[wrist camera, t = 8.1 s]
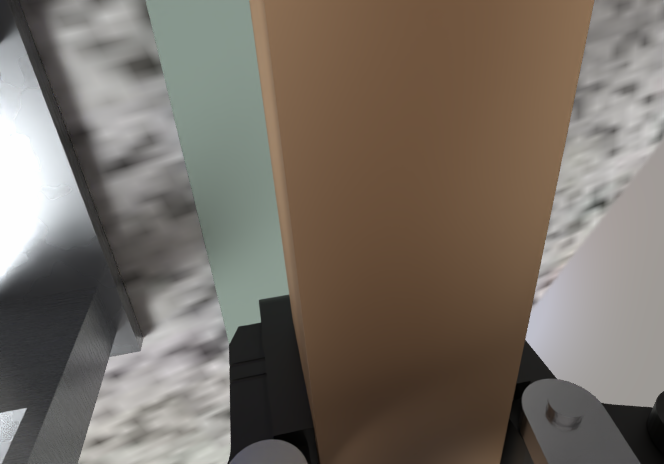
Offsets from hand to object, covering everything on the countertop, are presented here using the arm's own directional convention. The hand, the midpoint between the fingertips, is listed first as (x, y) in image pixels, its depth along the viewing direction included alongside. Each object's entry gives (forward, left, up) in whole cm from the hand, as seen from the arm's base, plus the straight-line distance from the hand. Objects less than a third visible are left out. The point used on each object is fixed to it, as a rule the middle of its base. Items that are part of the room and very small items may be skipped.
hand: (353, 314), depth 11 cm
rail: (0, 0, +1) cm, 1 cm away
